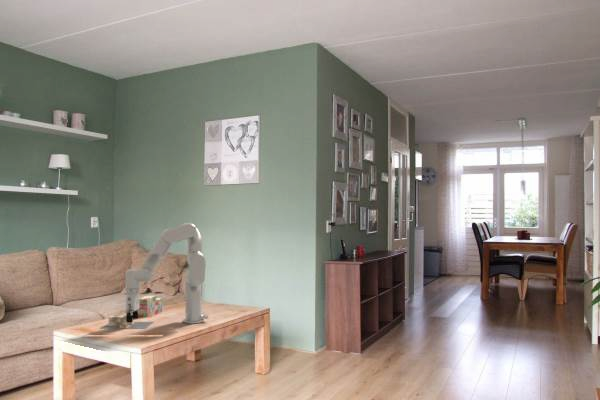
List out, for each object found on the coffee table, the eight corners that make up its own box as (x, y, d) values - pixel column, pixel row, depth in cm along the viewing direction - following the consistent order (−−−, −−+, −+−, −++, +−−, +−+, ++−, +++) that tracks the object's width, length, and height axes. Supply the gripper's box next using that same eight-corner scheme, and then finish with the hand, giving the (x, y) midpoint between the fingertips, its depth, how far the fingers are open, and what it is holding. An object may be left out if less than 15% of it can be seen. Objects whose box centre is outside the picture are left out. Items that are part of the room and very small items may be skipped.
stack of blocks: (153, 311, 332) (153, 293, 332) (162, 311, 331) (162, 293, 331) (138, 318, 311) (138, 298, 311) (147, 318, 310) (147, 299, 310)
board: (154, 323, 297) (154, 321, 297) (145, 330, 279) (145, 328, 279) (111, 323, 297) (111, 321, 297) (98, 330, 279) (98, 328, 279)
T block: (133, 322, 294) (133, 314, 294) (125, 327, 282) (126, 318, 282) (113, 322, 294) (113, 314, 294) (105, 327, 282) (105, 318, 282)
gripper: (133, 293, 280) (133, 323, 279) (143, 288, 297) (143, 317, 297) (120, 293, 280) (120, 323, 279) (131, 288, 297) (131, 317, 297)
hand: (132, 320), depth 288 cm, fingers open, 9 cm apart
